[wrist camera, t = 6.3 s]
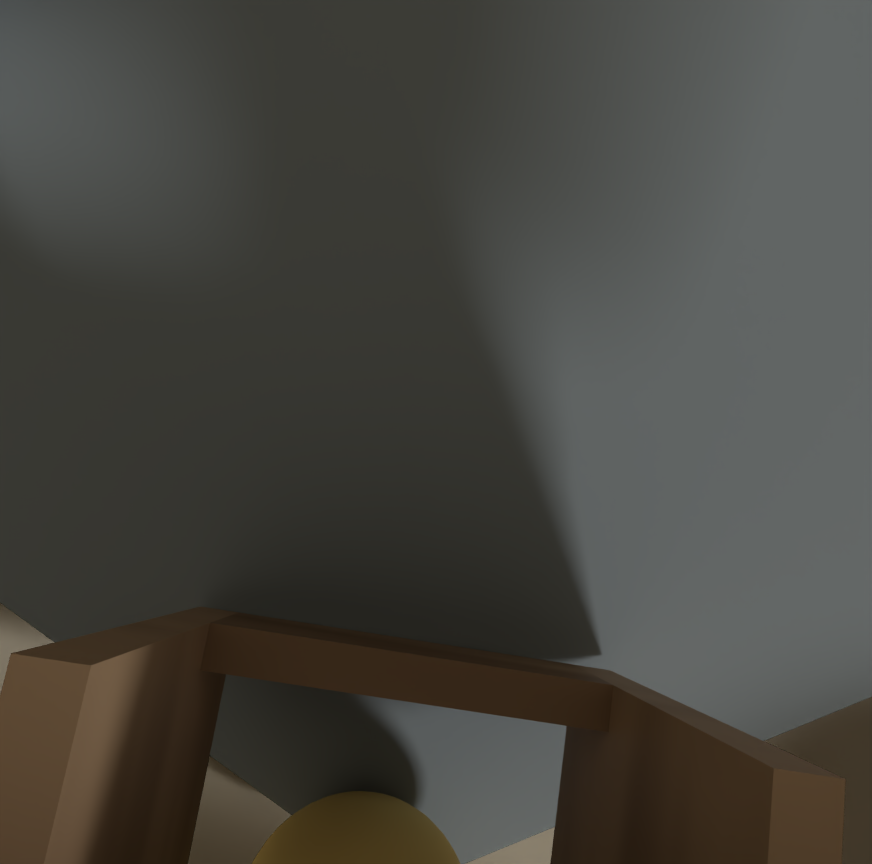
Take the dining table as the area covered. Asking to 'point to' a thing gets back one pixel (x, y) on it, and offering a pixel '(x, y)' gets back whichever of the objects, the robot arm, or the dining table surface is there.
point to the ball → (357, 834)
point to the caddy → (392, 679)
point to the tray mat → (446, 357)
